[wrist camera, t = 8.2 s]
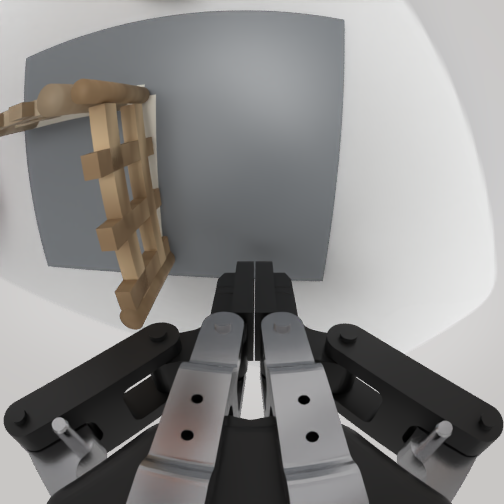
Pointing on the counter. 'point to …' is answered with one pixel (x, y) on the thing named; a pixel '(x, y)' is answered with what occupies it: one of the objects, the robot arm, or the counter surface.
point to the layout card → (203, 139)
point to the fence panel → (126, 193)
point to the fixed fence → (42, 109)
